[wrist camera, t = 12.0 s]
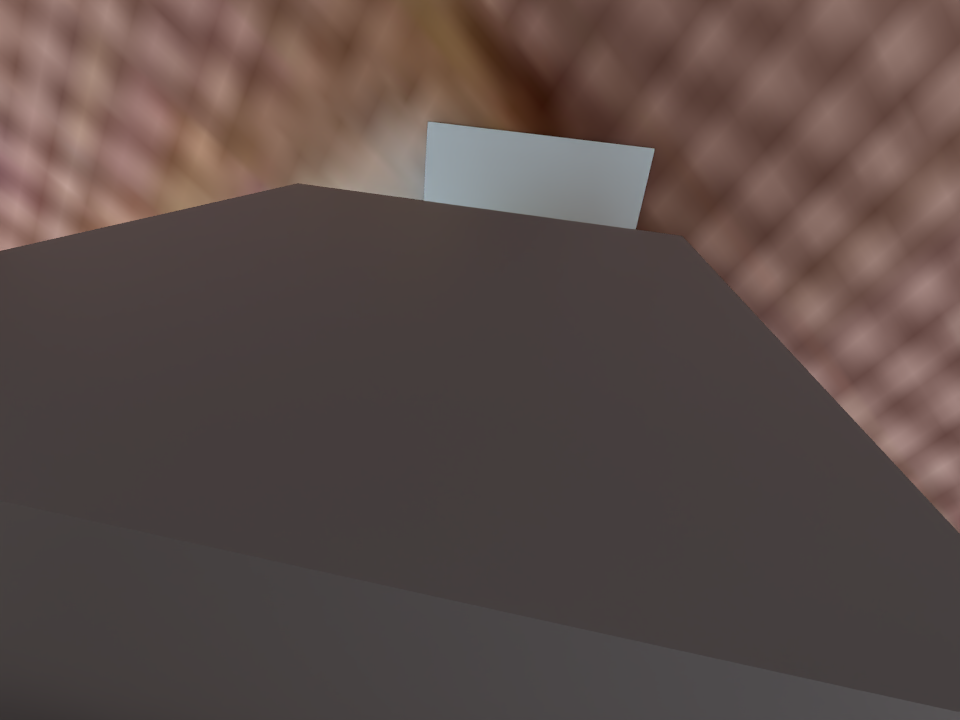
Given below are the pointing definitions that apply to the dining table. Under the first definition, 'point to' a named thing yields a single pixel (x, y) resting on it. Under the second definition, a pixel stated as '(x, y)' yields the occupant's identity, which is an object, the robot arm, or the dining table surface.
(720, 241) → the dining table surface
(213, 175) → the dining table surface
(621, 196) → the pale gray panel
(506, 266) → the plain gray box
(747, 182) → the dining table surface
